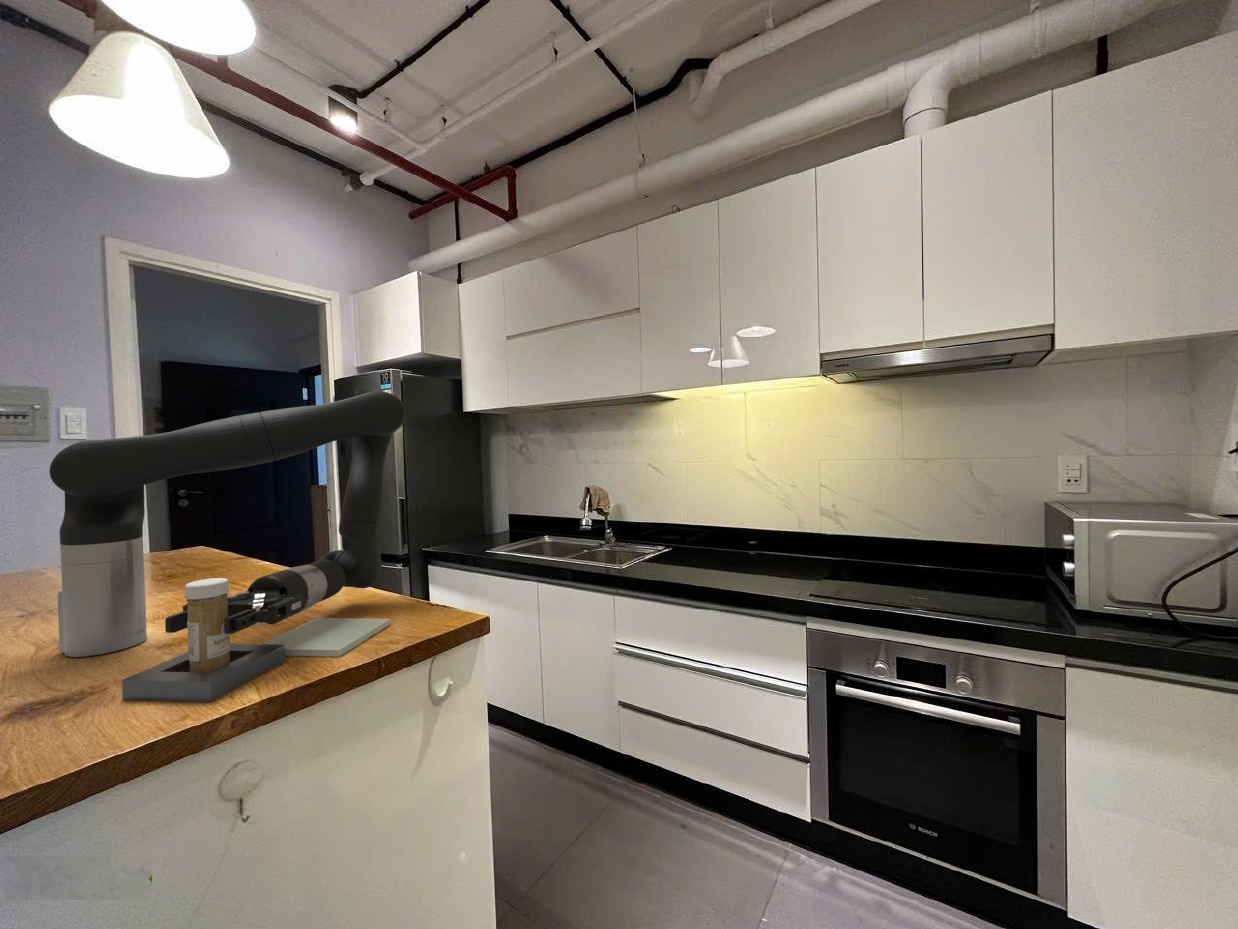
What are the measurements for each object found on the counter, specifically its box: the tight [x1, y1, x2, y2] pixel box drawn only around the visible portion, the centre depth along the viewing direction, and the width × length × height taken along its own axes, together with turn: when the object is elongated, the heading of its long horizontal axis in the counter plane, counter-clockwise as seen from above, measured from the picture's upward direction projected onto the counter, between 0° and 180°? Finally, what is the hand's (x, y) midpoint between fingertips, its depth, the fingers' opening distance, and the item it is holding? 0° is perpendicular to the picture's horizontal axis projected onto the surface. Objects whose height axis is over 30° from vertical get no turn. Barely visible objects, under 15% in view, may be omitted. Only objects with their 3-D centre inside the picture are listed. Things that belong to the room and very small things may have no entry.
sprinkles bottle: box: [184, 577, 231, 673], centre depth 67 cm, size 5×5×14 cm
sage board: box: [262, 617, 391, 658], centre depth 82 cm, size 14×14×1 cm
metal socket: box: [121, 643, 286, 703], centre depth 67 cm, size 12×12×2 cm
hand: (197, 626), depth 66 cm, fingers open, 8 cm apart
